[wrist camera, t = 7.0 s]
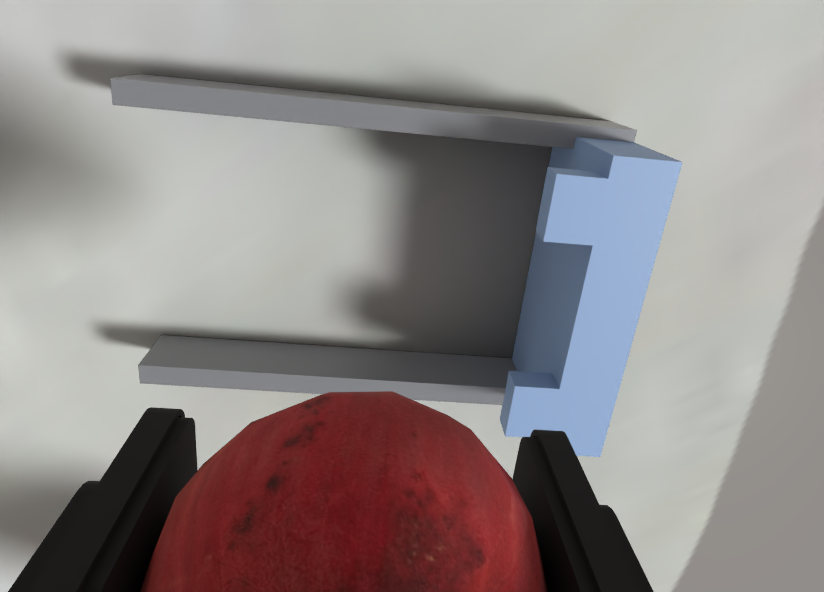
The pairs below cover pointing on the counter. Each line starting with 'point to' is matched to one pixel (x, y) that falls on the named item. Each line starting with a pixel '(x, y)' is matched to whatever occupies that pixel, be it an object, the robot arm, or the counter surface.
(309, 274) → the counter surface
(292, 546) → the pomegranate
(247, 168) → the counter surface
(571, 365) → the blue bracket
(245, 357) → the grey parallel strips
